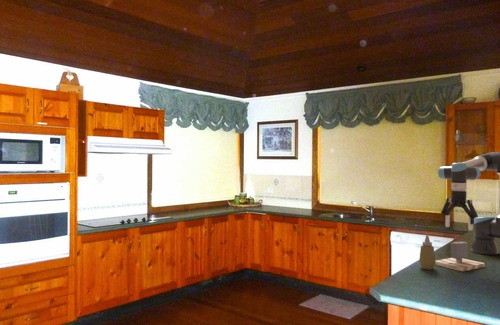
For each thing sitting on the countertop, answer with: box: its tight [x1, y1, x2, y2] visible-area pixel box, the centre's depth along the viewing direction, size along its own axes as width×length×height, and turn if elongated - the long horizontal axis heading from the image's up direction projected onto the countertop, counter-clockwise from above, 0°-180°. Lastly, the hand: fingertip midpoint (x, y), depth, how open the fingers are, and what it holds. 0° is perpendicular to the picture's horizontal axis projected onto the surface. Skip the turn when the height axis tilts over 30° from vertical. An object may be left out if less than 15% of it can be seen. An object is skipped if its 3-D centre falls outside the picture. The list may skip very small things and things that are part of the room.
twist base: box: [434, 257, 486, 272], centre depth 221 cm, size 20×17×4 cm
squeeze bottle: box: [418, 234, 436, 271], centre depth 215 cm, size 8×8×18 cm
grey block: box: [449, 240, 469, 259], centre depth 221 cm, size 10×4×8 cm, turn 119°
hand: (458, 228), depth 221 cm, fingers open, 13 cm apart
